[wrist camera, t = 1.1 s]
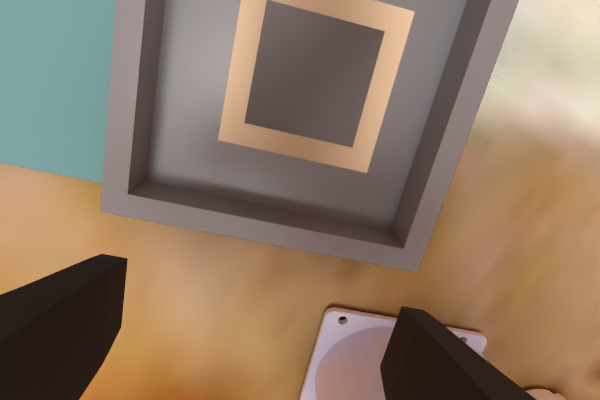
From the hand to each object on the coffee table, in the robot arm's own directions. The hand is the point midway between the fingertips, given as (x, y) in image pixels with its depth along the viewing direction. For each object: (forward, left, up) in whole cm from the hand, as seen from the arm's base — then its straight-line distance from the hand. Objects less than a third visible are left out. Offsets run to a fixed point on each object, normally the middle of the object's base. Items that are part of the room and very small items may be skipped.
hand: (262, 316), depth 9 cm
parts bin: (0, -6, -9) cm, 11 cm away
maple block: (0, -6, -8) cm, 10 cm away
